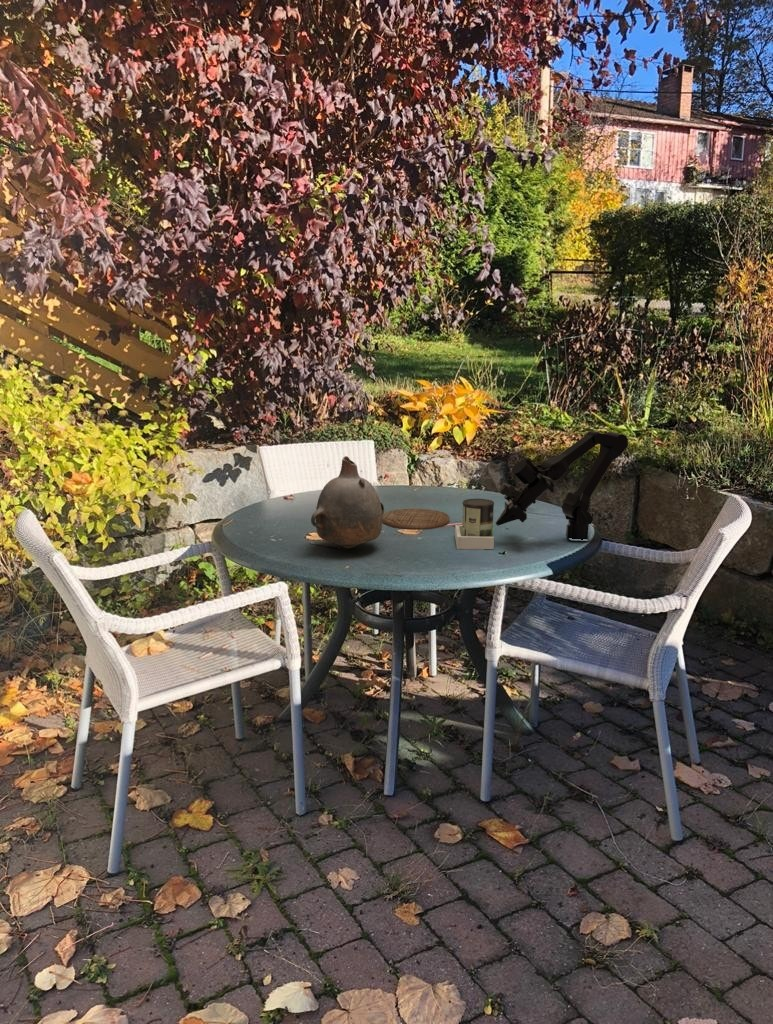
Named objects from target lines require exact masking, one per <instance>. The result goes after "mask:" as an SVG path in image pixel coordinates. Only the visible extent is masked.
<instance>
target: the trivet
mask: <svg viewBox="0 0 773 1024" xmlns="http://www.w3.org/2000/svg"><path fill="white" fill-rule="evenodd" d="M449 524H450V515H449V514H447V513H446V512H444V511H440V510H439V511H438V510H434V509H430V508H429V509H428V508H427V509H426V508H401V509H394V510H389V511H386V512H384V514H383V516H382V525H385V526H387V527H390V528H391V527H392V528H395V529H402V530H409V531H410V530H412V531H413V530H414V531H416V530H418V531H421V530H434V529H439V528H443V527H445V526H447V525H449Z"/></svg>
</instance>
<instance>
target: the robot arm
mask: <svg viewBox="0 0 773 1024" xmlns="http://www.w3.org/2000/svg"><path fill="white" fill-rule="evenodd" d="M597 445H599V453H598V456H597V457H596V459H595V460H594V462H593V463H592V465H591V467H590V468H589V470H588V471H587V473H586V476H585V477H584V479H583V480H582V481H581V483H580V485H579V486H578V488H577V490H576V491H574V492H571V491H569V492H567V494H566V497H565V498H564V499H563V500H562V505H561V510H562V513H563V514H564V516H565V520H568V522H567V523H568V524H566V526H565V529H566V530H565V536H566V538H567V539H568V538H572V539H581V540H583V539H589V527H590V526H589V525H592V523H593V521H594V517H593V516H592V514H590V513H589V512H588V511H589V508H590V505H591V497H592V495H593V494H594V492H595V490H596V489H597V488H598V485H599V484H600V482H601V480H602V479H603V477H604V475H605V474H606V473H607V471H608V469H609V467H610V466H611V464H612V463H613V461H614V460H616V459H617V458H619V457H620V456H621V455H623V453H624V452H625V451H626V449H628V447H629V440H628V437H627V435H625V434H623V433H618V432H614V431H610V432H606V433H602V432H599V431H595V430H590V431H587V432H586V434H585V435H584V436H582V437H581V438H579V440H577V441H576V442H575V443H573V444H572V445H571V446H569V447H568V448H567V449H565V450H564V451H563V452H562V453H560V454H557V455H553V456H551V457H549V458H547V459H545V460H544V461H542V462H541V463H540V464H536V465H535V464H533V463H532V461H531V460H530V459H529V458H528V457H524V458H523V459H522V460H520V461H517V463H515V464H514V465H513V466H512V469H511V473H512V474H513V475H514V476H515V478H516V479H518V480H519V481H520V482H521V483H522V485H525V486H520V487H519V488H517V487H515V486H513V485H512V484H509V483H507V482H504V481H503V482H502V484H501V485H500V488H499V489H498V491H499V494H501V495H503V499H504V500H506V501H507V502H506V501H504V509H503V510H502V513H500V515H499V516H498V519H497V520H496V522H495V525H496V526H501V525H504V524H506V523H510V522H513V521H517V520H519V521H520V522H521V523H524V522H525V521H526V520H527V519H528V515H527V511H528V510H527V509H528V508H530V506H531V505H532V504H533V505H534V504H536V503H537V499H539V498H540V497H541V496H542V495H543V494H544V493H545V492H546V491H547V490H548V491H550V493H552V494H553V493H555V492H554V488H555V484H554V482H553V481H559V480H560V479H561V478H562V477H563V476H564V475H565V474H566V473H567V471H568V470H569V468H570V466H571V465H572V464H573V463H575V462H576V461H577V460H579V459H580V458H581V457H583V456H584V455H585V454H587V453H588V452H589V451H591V450H592V449H593V448H595V447H596V446H597ZM539 475H540V476H541V477H540V476H539ZM547 479H549V480H551V481H548V480H547Z"/></svg>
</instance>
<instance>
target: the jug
mask: <svg viewBox="0 0 773 1024" xmlns="http://www.w3.org/2000/svg"><path fill="white" fill-rule="evenodd" d="M340 468H341V469H340V471H339V474H338V476H337V477H334V478H332V479H330V480H329V481H328V482H327V483H325V485H324V487H323V488H322V490H321V492H320V494H319V495H318V500H317V504H316V510H315V511H314V512H313V513H312V515H311V518H310V522H311V523H310V524H311V525H312V526H313V527H315V528H316V532H317V536H318V537H319V538H320V539H321V540H324V541H326V542H328V543H331V544H335V545H340V546H341V547H343V548H345V549H347V550H349V549H352V548H355V547H357V546H360V545H362V544H364V543H371V542H373V541H375V540H376V539H378V538H379V537H380V535H381V532H382V529H383V528H382V527H383V522H382V516H383V514H384V513H385V508H384V507H385V506H384V504H383V503H382V502H381V500H380V498H379V495H378V492H377V490H376V488H375V487H374V486H373V484H372V483H371V482H370V481H369V480H367V479H366V478H364V477H361V476H360V474H359V470H358V466H357V464H356V463H355V462H354V461H353V460H351V458H350V457H349V456H347V455H345V456H343V457H342V460H341V466H340Z"/></svg>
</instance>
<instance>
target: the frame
mask: <svg viewBox="0 0 773 1024" xmlns="http://www.w3.org/2000/svg"><path fill="white" fill-rule="evenodd" d="M454 527H455V531H454V533H455V534H454V537H455V538H454V539H455V543H456V544H455V546H456V549H457V550H484V549H494V548H495V547H494V546H495V545H494V544H495V537H494V536H493V537H478V536H462V530H463V524H455V526H454Z"/></svg>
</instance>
